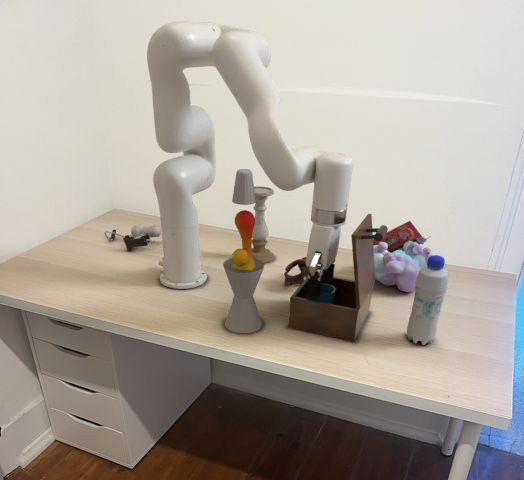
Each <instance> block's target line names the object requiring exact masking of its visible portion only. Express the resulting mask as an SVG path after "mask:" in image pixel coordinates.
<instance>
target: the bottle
mask: <svg viewBox="0 0 524 480" xmlns="http://www.w3.org/2000/svg"><path fill="white" fill-rule="evenodd" d="M445 263H446V260H445V257H443V256H442V255H438V254H433V256H430V257H429V259H428V262H427V266H424V267H422V268H421V269H420V270H419V273H418V276H417V279H416V282H415V290H414V291H415V292H414V296H413V302H412V306H411V311H410V312H411V313H410V316H409V320H408V323H407V327H406V336H407V339H408V340H409V341H412V342H413V344H418V342H421V345H423V346H424V345H426V344H431V343H432V342H433V341H434V340H435V337H436V335H437V332H438V324H439V318H440V313H441V309H442V305H443V301H444V297H445V296H446V294H447V290H448V288H449V276H450V275H449V270H447V269H446V268H444V267H445Z"/></svg>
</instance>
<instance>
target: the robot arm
mask: <svg viewBox="0 0 524 480" xmlns="http://www.w3.org/2000/svg"><path fill="white" fill-rule="evenodd" d="M146 62H147V68H148V74H149V79H150V80H149V81H150V85H151V97H152V109H153V110H152V111H153V120H154V133H155V139H156V142H157V145H158V147H159V148H160V149H161V150H162V151H163V152H165V153H167V154H178V153H182V154H183V155H180V156H176V157H172V158H169V159H167V160H164V161H162V162H160V164H158V166H156V168H155V170H154V173H153V175H152V182H153V189H154V191H155V195H156V199H157V203H158V209H159V216H160V226H161V227H160V229H161V238H162V239H161V241H162V253H163V256H162V260H159V261H158V265H159V266H161V267H162V269H163V270H162V272H161V273H160V275H159V281H160V283H161V284H162V285H163V286H165V287H167V288H170V289H175V290H186V289H187V290H188V289H193V288H196V287H200V286H202V285H203V284H204V283H205V282H206V281H207V278H208V277H207V273H206V272H205V271H204V270H203V269H201V250H200V249H201V248H200V246H201V245H200V228H199V227H200V225H199V214H198V213H199V212H198V211H197V210H198V209H197V207H196V204H195V203H194V201H193V197H192V196H195V195H196V194H198V193H200V192H203V191H205V190H208V189H209V188H210V187H211V186H212V185H213V183H214V181H215V178H216V170H217V169H216V168H217V167H216V166H217V165H216V133H215V125H214V122H213V120H212V117H211V116H210V113H209V112H208V111H206V109H204V108H203V107H201V106H199V105H192V104H191V90H190V89H191V88H190V85H189V82H188V79H187V77H186V74H185V72H184V70H185V69H191V68H203V67H213V68H215V69H216V71H217V72H218V73H219V75H220V77H221V79H222V80H223V82H224V83H225V85H226V87H227V88H228V90H229V92H230V93H231V95H232V96H233V98H234V100H235V101H236V103H237V104H238V106H239V108H240V109H241V111H242V112H243V114H244V116H245V118H246V120H247V130H248V131H247V132H248V136H249V137H248V138H249V141H250V145H251V150H252V151H253V154H254V157H255V159H256V160H257V162H258V164H259V166H260V167H261V169H262V170H263V172H264V173H265V175H266V177H267V178H268V179H269V181H270V182H271V183H272V184H273V185H274V186H275V187H276V188H278V190H281V191H284V192H291V191H295V190H297V189H299V188H301V187H303V186H305V185H309V184H313V193H312V202H311V211H310V222H311V223H312V225H311V228H310V233H309V239H308V245H307V253H306V257H307V258H306V266H307V267H309V266H310V267H309V270H310V271H309V276H308V286H307V294H309V295H314V296H318V297H319V296H320V295H321V290H322V282H323V280H321V278H324V279H329V280H332V279H333V277H334V273H335V267H336V258H337V256H338V253H339V247H340V239H341V229H342V226H345V225H346V220H347V214H348V205H349V198H350V192H351V184H352V177H353V172H354V171H353V170H354V160H353V158H352V157H351V156H350V155H348V154H346V153H341V152H329V151H326V150H323V149H320V148H317V147H315V146H311V145H301V146H299V147H296V148H292V149H291V148H290V147H289V145H288V144H287V142H286V140H285V138H284V137H283V135H282V132H281V130H280V127H279V124H278V110H279V107H280V104H281V102H282V93H281V91H280V89H279V87H278V86H277V84H276V82H275V81H274V79H273V78H272V76H271V74H270V72H269V71H268V67H269V65H270V63H271V48H270V45H269V43H268V41H267V40H266V38H265V37H264V36H263V35H262V34H260V32H258V31H255V30H250V29H244V28H241V27H240V28H238V27H235V26H229V25H225V24H222V23H216V22H207V21H190V20H189V21H187V20H186V21H172V22H168V23H165V24H163V25H161V26H160V27H158V28H156V30H155V31H154V32H153V34H152V35H151V37H150V38H149V41H148V44H147V49H146ZM317 270H318V271H319V274H318V272H316V271H317Z"/></svg>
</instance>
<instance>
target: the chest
mask: <svg viewBox="0 0 524 480" xmlns="http://www.w3.org/2000/svg"><path fill="white" fill-rule="evenodd" d="M308 276H309V275H308ZM321 280H323V282H322V283H325V284H330V285H332V286H334V287H335V289H336V293H335V302H334V304H329V303H324V302H319V301H314V300H310V295H309V294H307V286H308V277H307V278H306V277H305V278H304V281H303V283H302V284H299V286H298V287H297V289H296V290H294V292H292V294H291V296H290V297H289V311H288V328H291V329H295V330H299V331H303V332H308V333H312V334H317V335H321V336H326V337H331V338H335V339H341V340H344V341H349V342H353V343H354V342H355V341H356V338H357V337H358V335H359V333H360V331H361V329H362V327H363V325H364V323H365V321H366V319H367V317H368V315H369V313H370V308H371V303H372V301H371V300H372V296H373V295H372V294H373V287H374V286H373V287H372V289H371V290H370V292H369V294H368V296H367V298H366V299H365V301H364V303H363V305H362V307H361V308H360V309H357V307H356V293H355V279H347V278H344V277H338V276H333V279H332V280H329V279H324V278H321Z"/></svg>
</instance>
